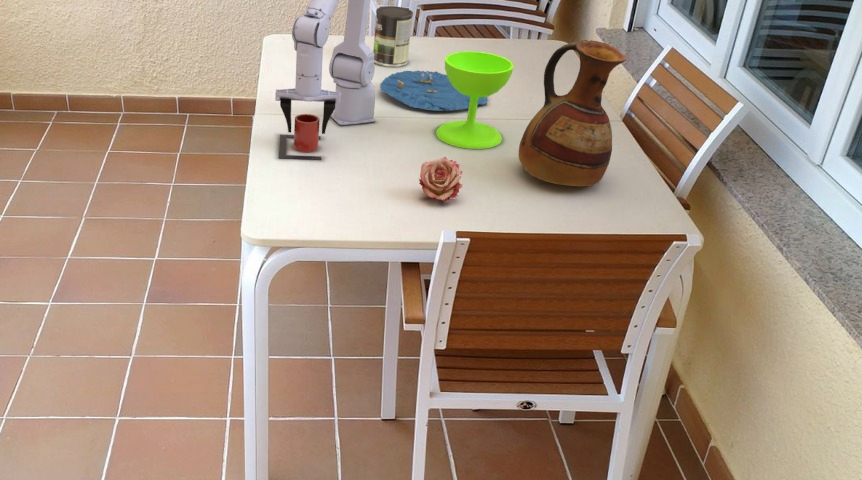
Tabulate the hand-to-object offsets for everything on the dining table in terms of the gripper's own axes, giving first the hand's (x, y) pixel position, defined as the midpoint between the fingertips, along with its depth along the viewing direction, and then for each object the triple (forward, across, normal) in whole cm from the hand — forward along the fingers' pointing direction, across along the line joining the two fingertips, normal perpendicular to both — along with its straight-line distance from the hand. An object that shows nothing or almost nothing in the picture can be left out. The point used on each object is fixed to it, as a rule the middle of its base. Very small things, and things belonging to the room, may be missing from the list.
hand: (306, 131), depth 221 cm
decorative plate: (+4, +34, +40) cm, 52 cm away
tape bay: (+4, -1, 0) cm, 4 cm away
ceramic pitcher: (+4, +57, -11) cm, 58 cm away
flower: (+4, +28, -24) cm, 37 cm away
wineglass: (+4, +40, +11) cm, 41 cm away
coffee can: (+4, +24, +66) cm, 70 cm away
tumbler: (+4, 0, 0) cm, 4 cm away
